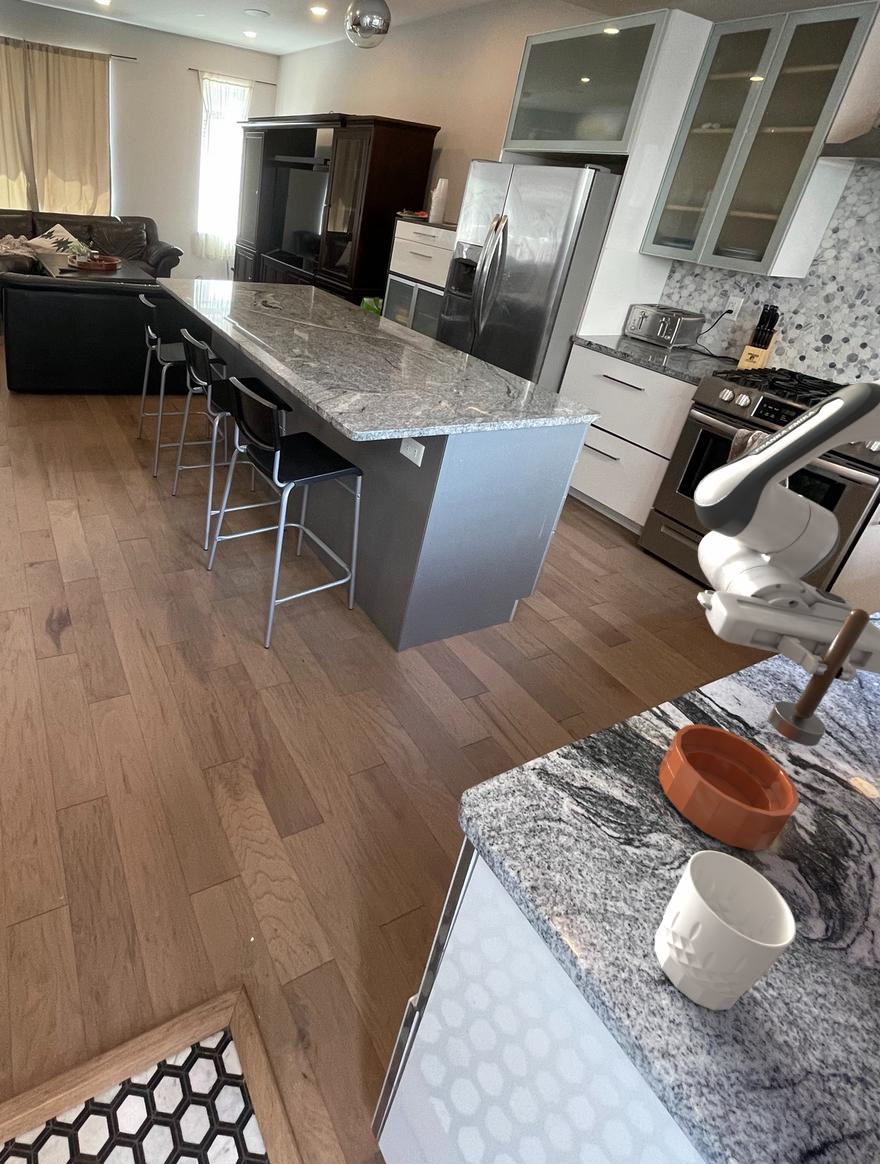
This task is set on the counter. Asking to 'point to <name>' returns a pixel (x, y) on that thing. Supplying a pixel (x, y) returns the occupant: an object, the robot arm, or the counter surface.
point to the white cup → (722, 930)
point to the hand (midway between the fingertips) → (833, 673)
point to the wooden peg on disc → (818, 687)
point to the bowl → (727, 787)
